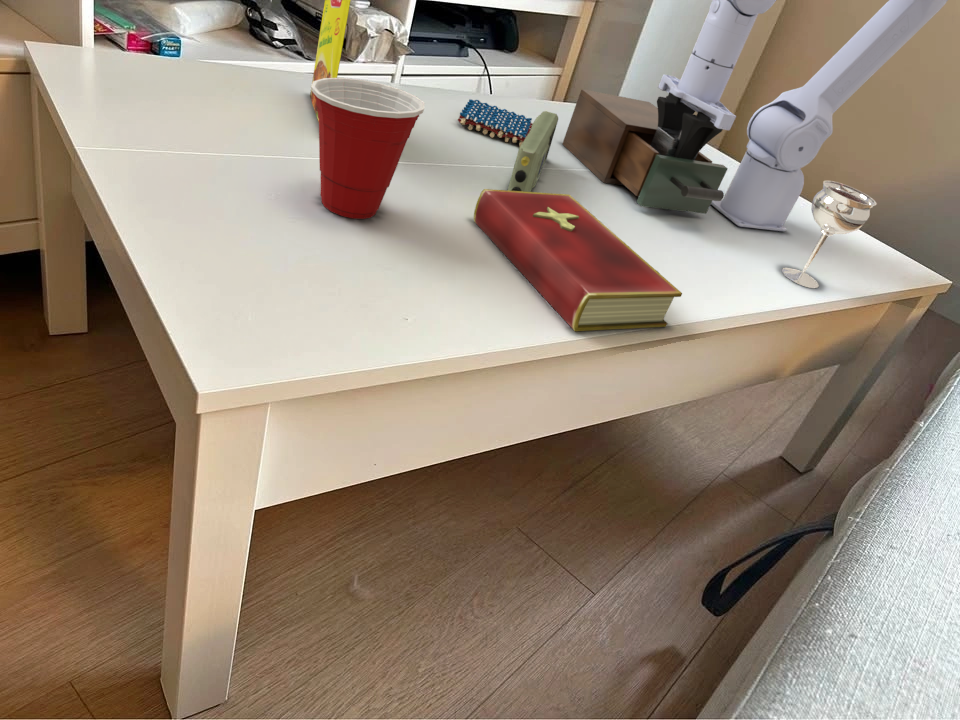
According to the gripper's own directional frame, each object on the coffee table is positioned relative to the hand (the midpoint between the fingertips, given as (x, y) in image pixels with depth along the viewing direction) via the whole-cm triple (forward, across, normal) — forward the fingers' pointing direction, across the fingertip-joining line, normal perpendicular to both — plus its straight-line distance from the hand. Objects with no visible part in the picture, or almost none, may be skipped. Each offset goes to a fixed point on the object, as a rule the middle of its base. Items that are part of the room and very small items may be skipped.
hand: (669, 160), depth 105 cm
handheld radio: (+6, 0, -21) cm, 22 cm away
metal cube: (+1, 0, 0) cm, 1 cm away
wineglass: (+6, +20, +11) cm, 24 cm away
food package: (+6, -14, -45) cm, 47 cm away
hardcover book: (+6, +22, -26) cm, 35 cm away
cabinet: (+6, -10, 0) cm, 12 cm away
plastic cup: (+6, +12, -47) cm, 49 cm away
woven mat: (+6, -20, -17) cm, 27 cm away
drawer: (+5, +1, 0) cm, 5 cm away
